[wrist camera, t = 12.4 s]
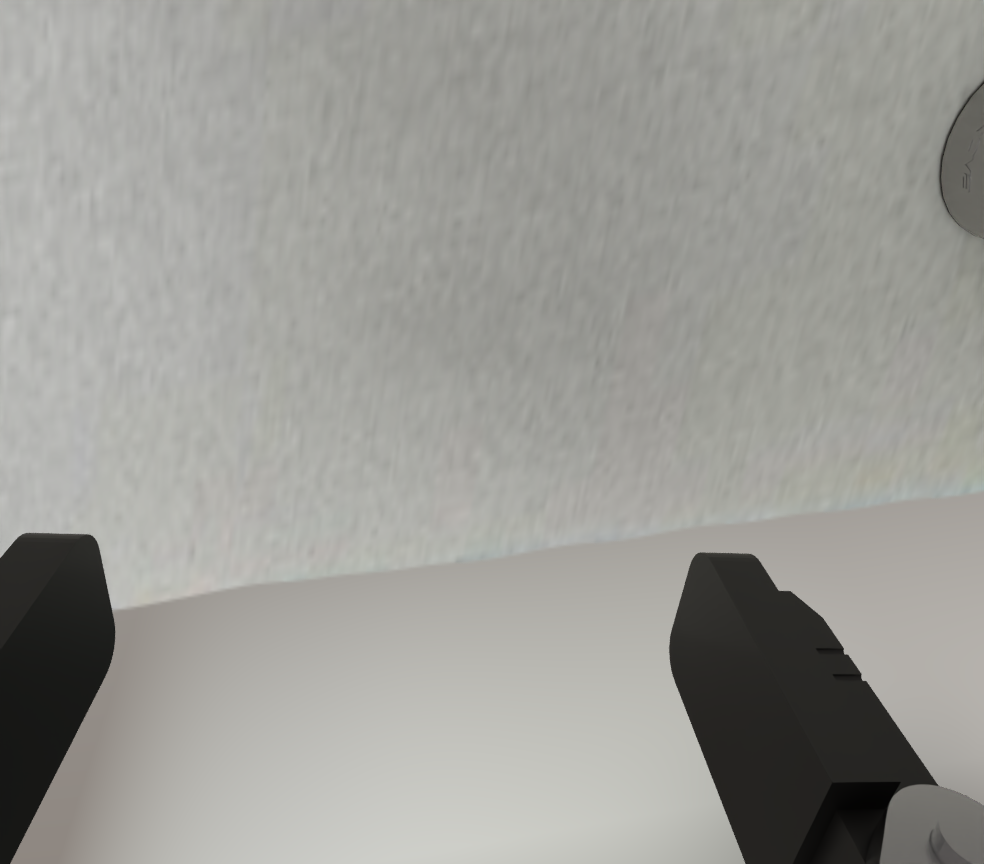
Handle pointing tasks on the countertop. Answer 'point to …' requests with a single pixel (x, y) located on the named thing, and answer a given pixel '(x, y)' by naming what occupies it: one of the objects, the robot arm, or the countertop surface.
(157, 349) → the countertop surface
